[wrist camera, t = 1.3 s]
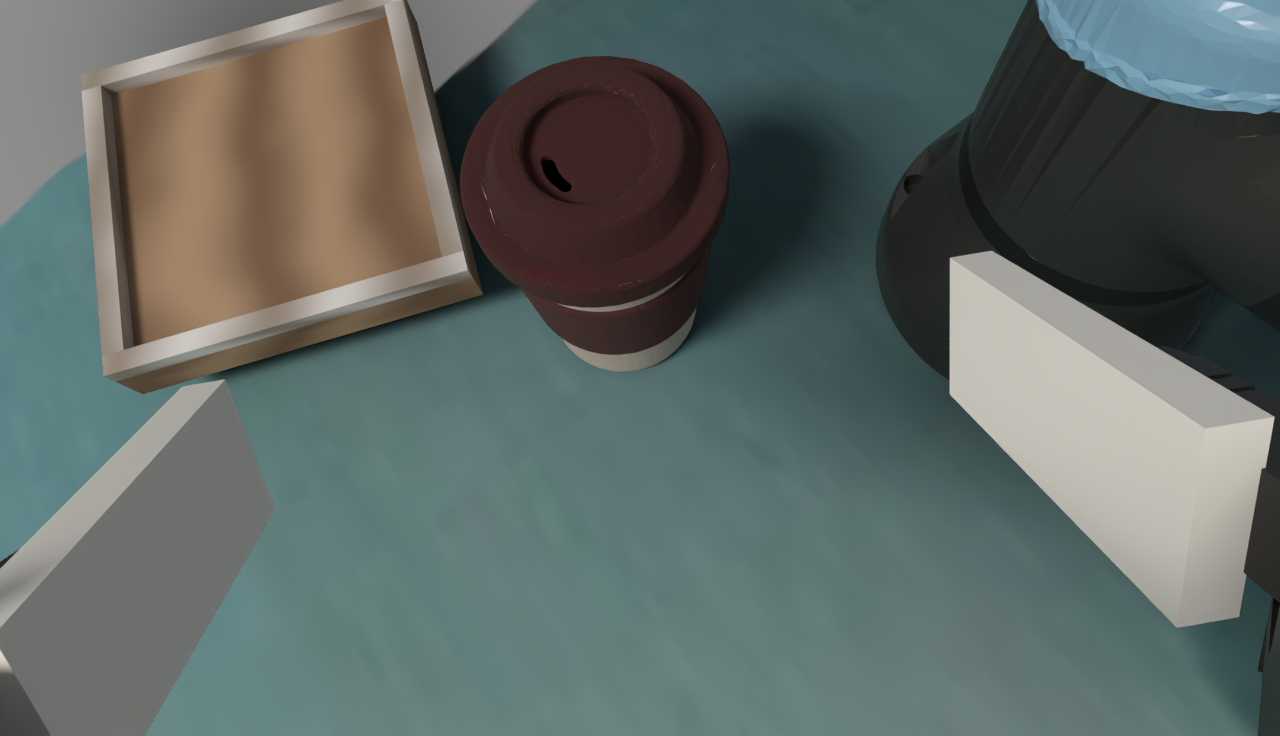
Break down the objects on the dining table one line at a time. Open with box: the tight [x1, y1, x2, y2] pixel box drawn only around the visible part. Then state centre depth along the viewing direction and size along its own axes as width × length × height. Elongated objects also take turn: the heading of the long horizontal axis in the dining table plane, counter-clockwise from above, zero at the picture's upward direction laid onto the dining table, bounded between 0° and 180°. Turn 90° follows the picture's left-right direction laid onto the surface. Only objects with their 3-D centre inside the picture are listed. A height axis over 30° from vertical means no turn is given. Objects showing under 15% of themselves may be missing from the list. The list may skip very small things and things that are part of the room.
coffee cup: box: [460, 56, 730, 372], centre depth 36 cm, size 10×10×15 cm
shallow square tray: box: [81, 0, 483, 394], centre depth 44 cm, size 17×17×6 cm
